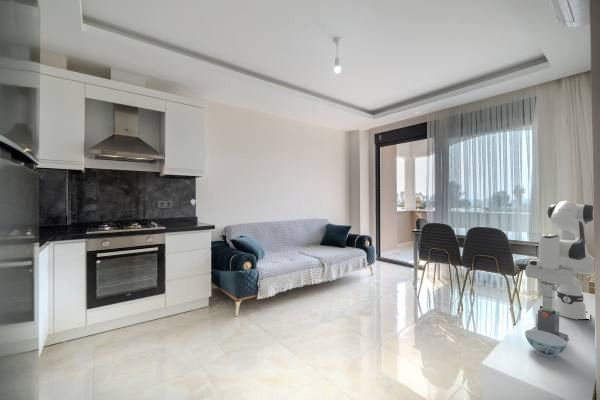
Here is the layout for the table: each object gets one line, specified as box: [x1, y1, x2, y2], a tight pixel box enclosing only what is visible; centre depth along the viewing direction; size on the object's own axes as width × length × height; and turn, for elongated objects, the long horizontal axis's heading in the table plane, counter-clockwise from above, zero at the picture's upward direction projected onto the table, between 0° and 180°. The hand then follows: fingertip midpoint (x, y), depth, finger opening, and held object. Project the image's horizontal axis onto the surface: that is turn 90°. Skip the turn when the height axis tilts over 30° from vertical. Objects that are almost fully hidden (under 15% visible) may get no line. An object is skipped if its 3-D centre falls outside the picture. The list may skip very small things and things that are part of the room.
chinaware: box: [524, 329, 568, 358], centre depth 131 cm, size 15×15×8 cm
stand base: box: [530, 308, 569, 341], centre depth 147 cm, size 13×13×14 cm
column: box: [541, 280, 557, 314], centre depth 147 cm, size 5×5×22 cm
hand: (548, 289), depth 147 cm, fingers closed on column, 4 cm apart
